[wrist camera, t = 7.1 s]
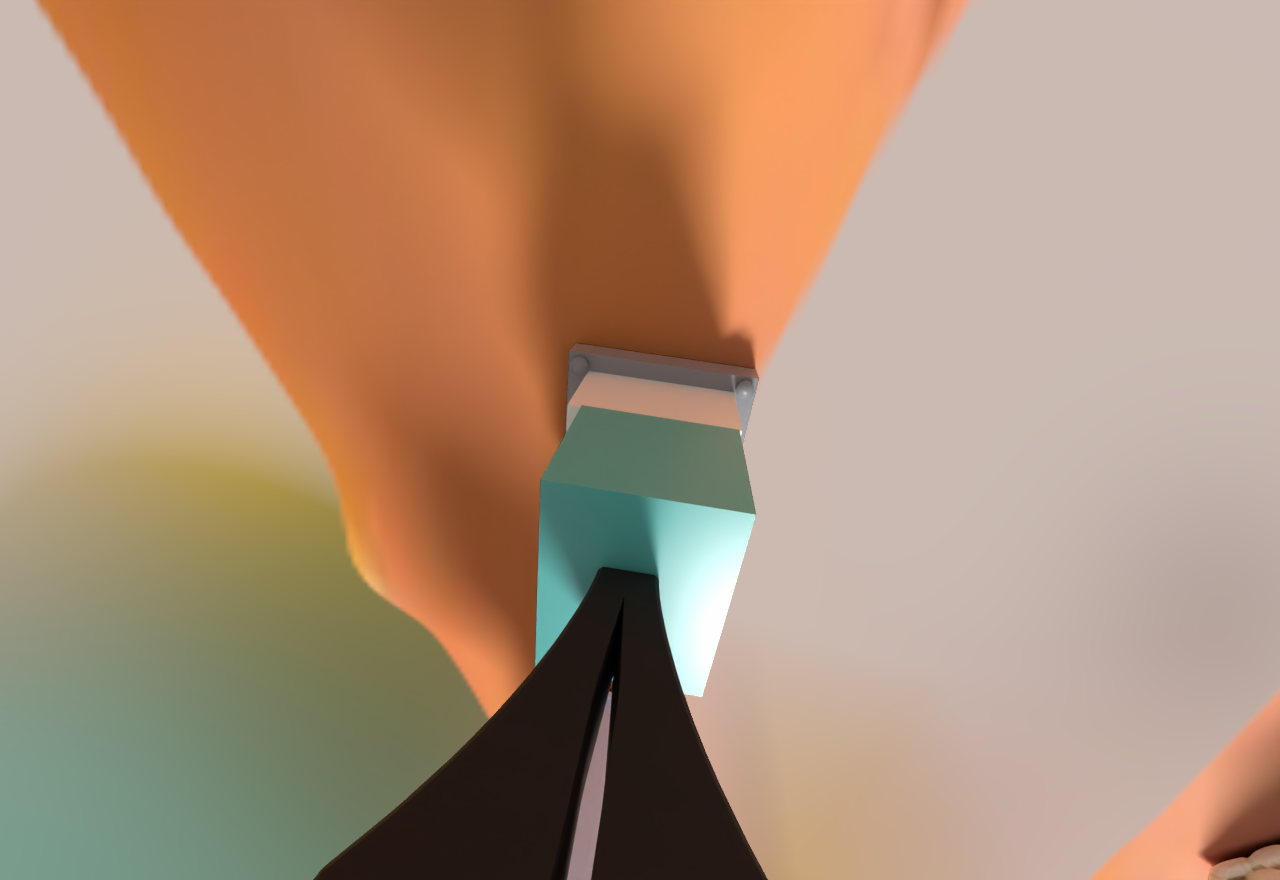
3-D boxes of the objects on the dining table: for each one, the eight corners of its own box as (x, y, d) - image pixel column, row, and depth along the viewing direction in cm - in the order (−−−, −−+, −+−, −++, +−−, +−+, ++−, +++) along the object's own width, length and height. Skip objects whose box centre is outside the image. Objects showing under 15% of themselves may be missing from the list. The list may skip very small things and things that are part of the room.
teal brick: (700, 586, 16) (702, 696, 12) (570, 564, 16) (535, 667, 12) (739, 430, 13) (756, 514, 10) (581, 405, 13) (540, 479, 10)
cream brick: (702, 532, 18) (703, 587, 16) (578, 512, 19) (559, 563, 16) (734, 392, 16) (742, 431, 13) (588, 370, 16) (567, 404, 13)
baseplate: (716, 531, 20) (717, 551, 18) (567, 507, 20) (559, 525, 19) (755, 369, 16) (760, 381, 15) (576, 342, 17) (567, 353, 15)
